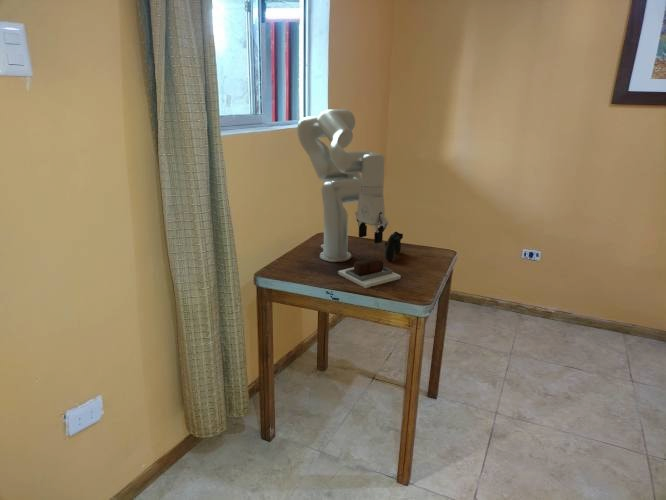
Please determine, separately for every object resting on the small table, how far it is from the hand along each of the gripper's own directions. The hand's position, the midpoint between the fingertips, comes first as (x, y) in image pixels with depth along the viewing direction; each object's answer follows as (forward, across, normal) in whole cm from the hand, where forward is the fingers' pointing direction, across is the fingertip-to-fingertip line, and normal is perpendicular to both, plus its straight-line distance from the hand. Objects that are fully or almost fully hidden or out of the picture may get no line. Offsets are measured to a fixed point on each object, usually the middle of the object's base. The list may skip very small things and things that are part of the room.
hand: (370, 239), depth 162 cm
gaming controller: (+14, -12, +22) cm, 29 cm away
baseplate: (+14, 0, 0) cm, 14 cm away
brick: (+13, 0, 0) cm, 13 cm away
